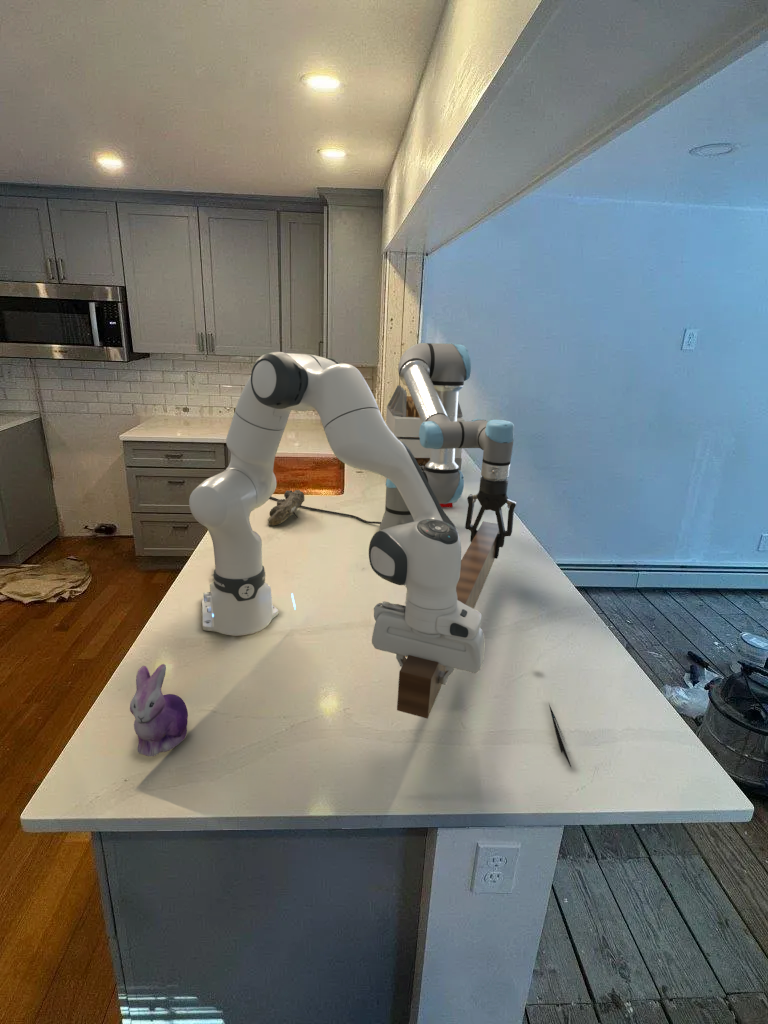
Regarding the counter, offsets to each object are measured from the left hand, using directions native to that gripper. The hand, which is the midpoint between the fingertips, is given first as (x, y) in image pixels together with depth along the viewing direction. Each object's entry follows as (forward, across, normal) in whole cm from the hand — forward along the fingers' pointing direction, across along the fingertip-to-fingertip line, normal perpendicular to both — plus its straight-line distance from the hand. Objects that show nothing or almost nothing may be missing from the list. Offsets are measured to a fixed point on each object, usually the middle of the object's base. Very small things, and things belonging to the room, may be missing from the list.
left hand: (424, 677), depth 104 cm
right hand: (+2, 0, +66) cm, 66 cm away
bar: (+3, 0, +33) cm, 33 cm away
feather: (+11, +23, +13) cm, 29 cm away
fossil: (+13, -77, +89) cm, 119 cm away
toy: (+12, -33, +139) cm, 143 cm away
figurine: (+12, -42, -21) cm, 48 cm away
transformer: (+13, -50, +171) cm, 178 cm away
